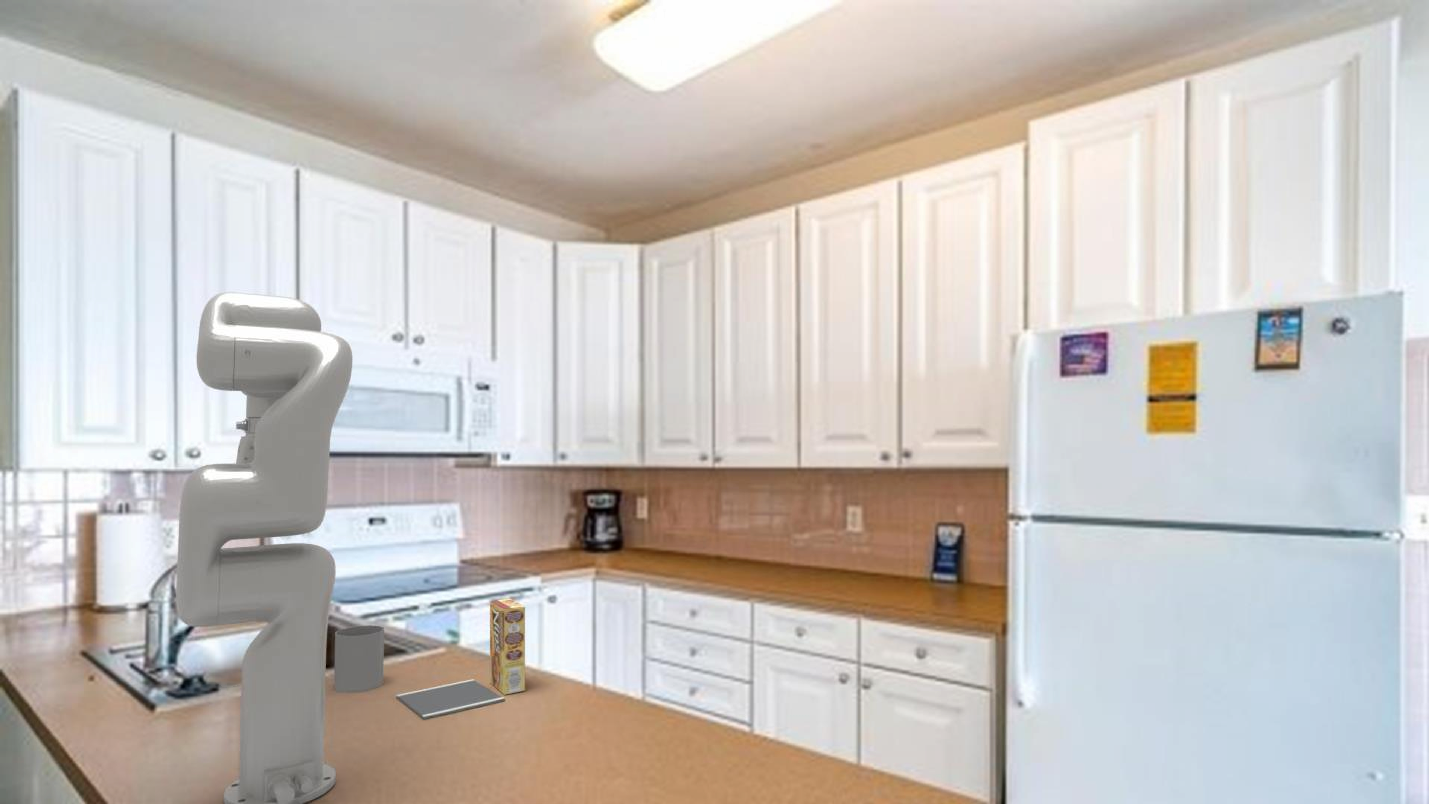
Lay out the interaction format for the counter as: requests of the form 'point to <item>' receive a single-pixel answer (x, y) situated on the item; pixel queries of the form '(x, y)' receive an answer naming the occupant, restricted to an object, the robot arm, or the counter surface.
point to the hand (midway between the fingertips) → (267, 524)
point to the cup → (359, 658)
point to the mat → (449, 699)
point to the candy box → (507, 646)
